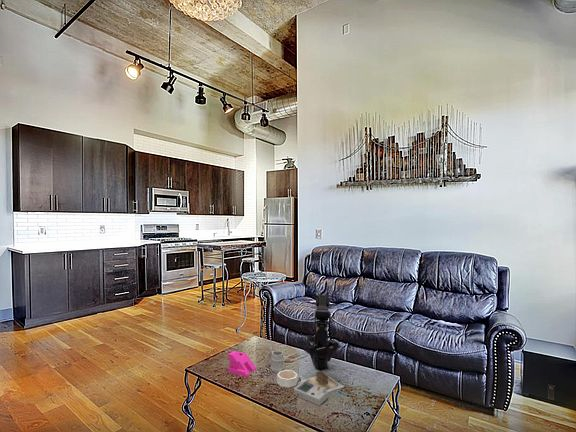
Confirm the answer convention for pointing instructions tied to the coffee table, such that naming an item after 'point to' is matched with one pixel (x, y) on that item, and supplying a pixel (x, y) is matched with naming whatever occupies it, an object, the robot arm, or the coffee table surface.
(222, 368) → the coffee table surface
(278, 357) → the mug
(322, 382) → the lid
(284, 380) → the bowl
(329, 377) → the mat
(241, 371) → the bracket
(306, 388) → the handheld gaming device
